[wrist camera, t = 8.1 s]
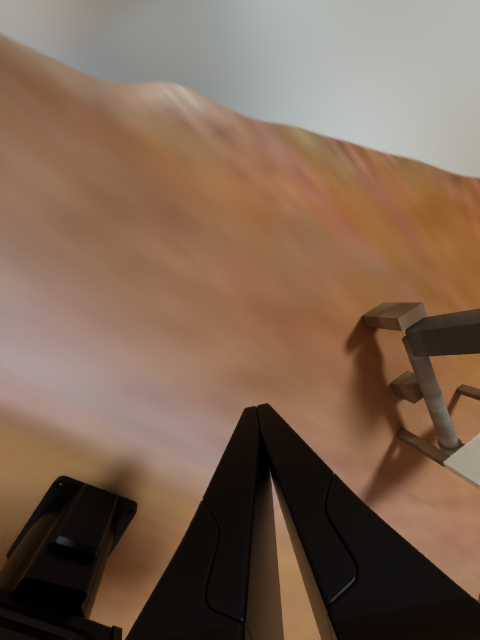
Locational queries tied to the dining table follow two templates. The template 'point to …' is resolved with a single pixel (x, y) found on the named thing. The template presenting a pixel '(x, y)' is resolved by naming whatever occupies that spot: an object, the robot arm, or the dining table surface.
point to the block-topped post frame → (435, 340)
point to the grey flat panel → (466, 462)
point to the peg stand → (407, 384)
